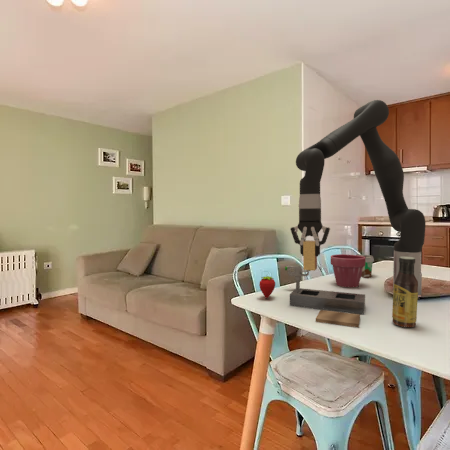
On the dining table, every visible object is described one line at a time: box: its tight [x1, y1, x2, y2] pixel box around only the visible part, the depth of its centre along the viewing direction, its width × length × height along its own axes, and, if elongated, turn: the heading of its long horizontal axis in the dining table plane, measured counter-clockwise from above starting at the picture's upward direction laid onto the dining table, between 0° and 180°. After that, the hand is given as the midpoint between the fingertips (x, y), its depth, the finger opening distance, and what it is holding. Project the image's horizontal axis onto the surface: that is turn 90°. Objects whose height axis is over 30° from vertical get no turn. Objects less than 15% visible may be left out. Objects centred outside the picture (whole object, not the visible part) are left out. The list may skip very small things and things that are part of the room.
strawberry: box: [258, 273, 276, 299], centre depth 123 cm, size 6×8×10 cm
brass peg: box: [302, 239, 318, 272], centre depth 115 cm, size 4×4×10 cm
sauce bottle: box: [391, 256, 419, 328], centre depth 94 cm, size 7×6×20 cm
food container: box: [355, 253, 375, 279], centre depth 160 cm, size 12×6×10 cm, turn 179°
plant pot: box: [330, 253, 365, 289], centre depth 142 cm, size 14×14×13 cm
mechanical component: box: [284, 265, 312, 289], centre depth 134 cm, size 3×10×10 cm, turn 78°
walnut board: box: [315, 309, 361, 328], centre depth 100 cm, size 12×9×1 cm
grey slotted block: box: [289, 287, 366, 315], centre depth 113 cm, size 24×10×4 cm, turn 65°
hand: (310, 255), depth 115 cm, fingers closed on brass peg, 4 cm apart
